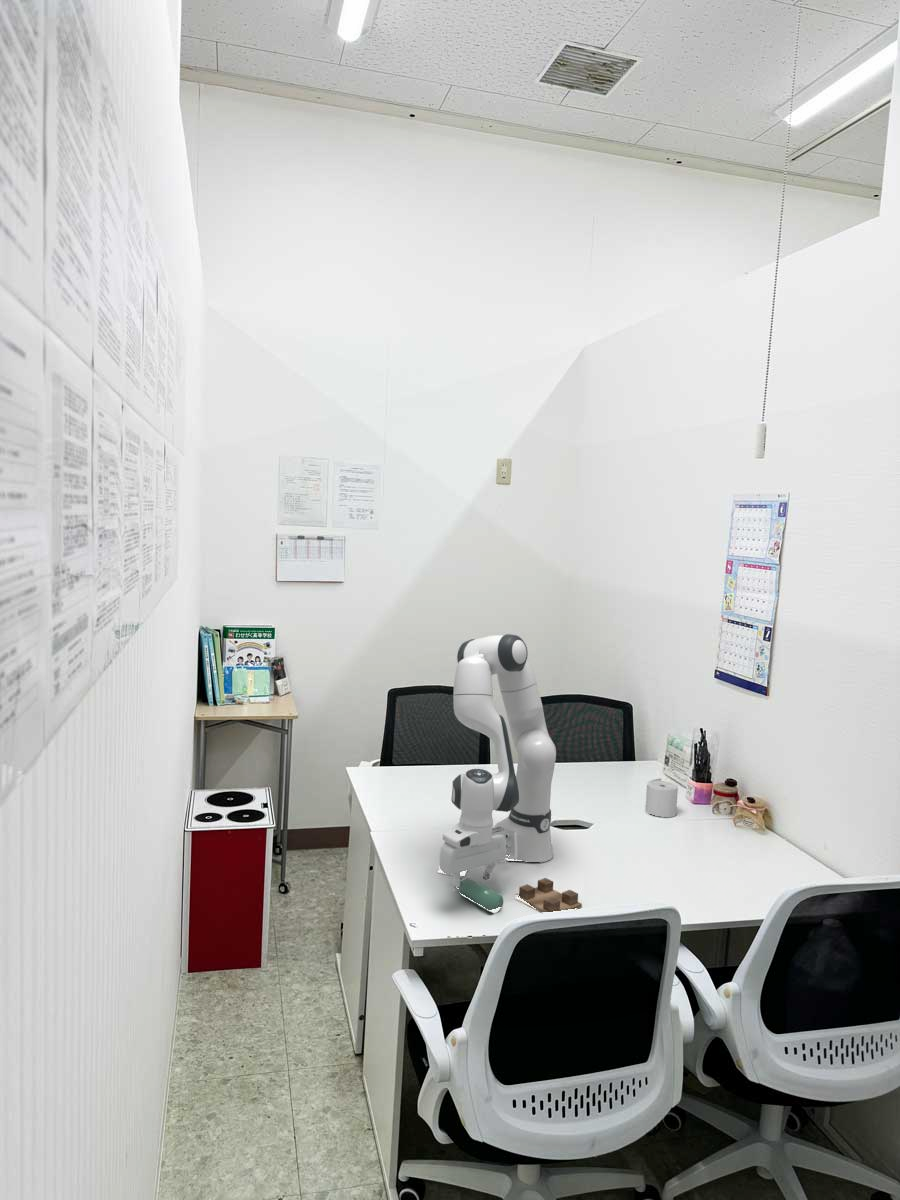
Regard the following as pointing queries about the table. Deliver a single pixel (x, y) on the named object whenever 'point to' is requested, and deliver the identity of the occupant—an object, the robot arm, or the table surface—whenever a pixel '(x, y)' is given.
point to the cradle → (548, 897)
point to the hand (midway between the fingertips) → (472, 882)
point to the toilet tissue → (661, 798)
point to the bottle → (481, 894)
